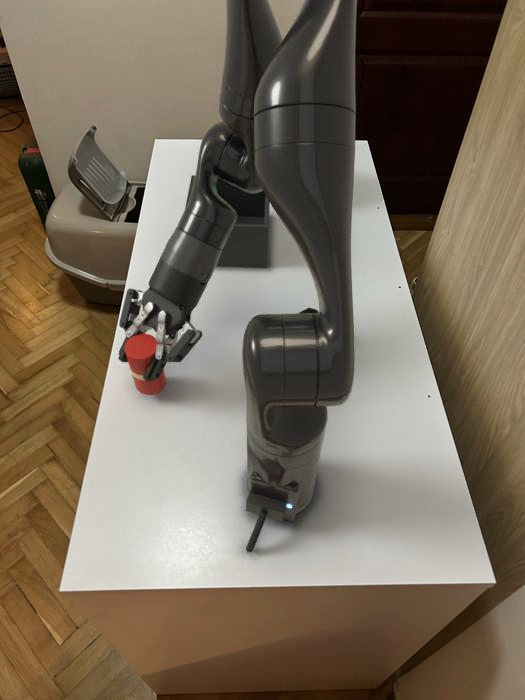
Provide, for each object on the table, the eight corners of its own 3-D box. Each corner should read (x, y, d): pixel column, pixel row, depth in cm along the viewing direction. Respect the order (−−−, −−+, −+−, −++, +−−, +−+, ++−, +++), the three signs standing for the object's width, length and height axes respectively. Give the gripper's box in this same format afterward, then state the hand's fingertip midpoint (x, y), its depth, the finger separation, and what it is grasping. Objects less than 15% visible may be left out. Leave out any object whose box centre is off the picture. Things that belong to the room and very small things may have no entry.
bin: (267, 268, 103) (268, 227, 95) (187, 265, 103) (181, 224, 95) (269, 218, 113) (270, 177, 105) (195, 215, 113) (191, 175, 105)
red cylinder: (159, 398, 81) (149, 362, 74) (129, 391, 82) (118, 354, 75) (171, 374, 84) (163, 337, 77) (143, 367, 85) (133, 330, 78)
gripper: (134, 240, 75) (86, 345, 78) (208, 286, 69) (153, 397, 72) (166, 251, 81) (121, 347, 85) (236, 293, 76) (185, 395, 79)
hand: (136, 369), depth 78 cm, fingers closed on red cylinder, 4 cm apart
